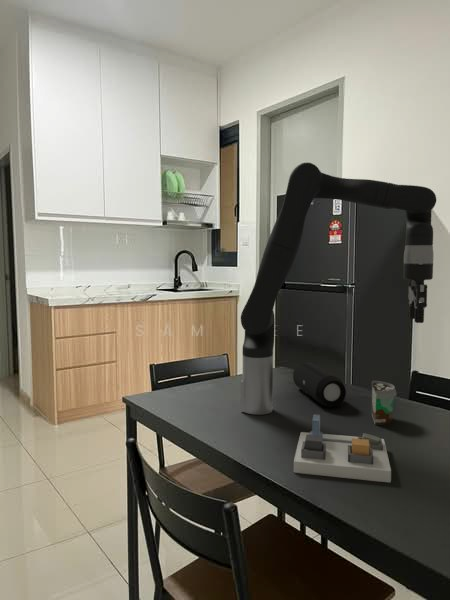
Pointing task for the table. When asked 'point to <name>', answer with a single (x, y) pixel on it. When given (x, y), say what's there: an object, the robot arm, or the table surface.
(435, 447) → the table surface
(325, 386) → the portable speaker
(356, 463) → the control panel
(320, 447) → the gray push button
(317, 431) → the blue paddle
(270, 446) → the table surface
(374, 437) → the olive rocker
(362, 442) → the orange push button
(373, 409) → the food container
